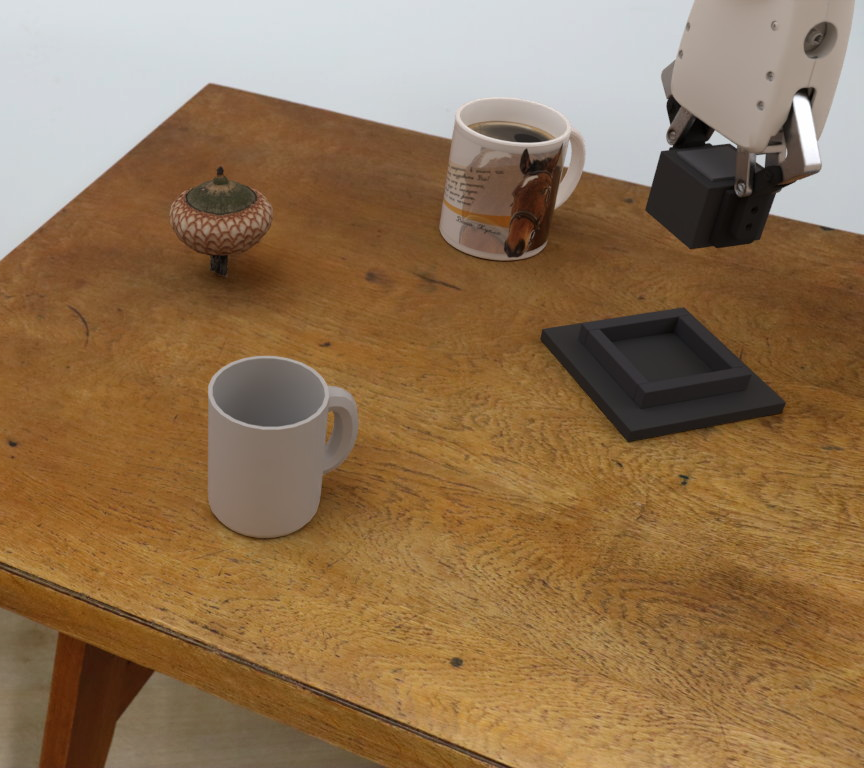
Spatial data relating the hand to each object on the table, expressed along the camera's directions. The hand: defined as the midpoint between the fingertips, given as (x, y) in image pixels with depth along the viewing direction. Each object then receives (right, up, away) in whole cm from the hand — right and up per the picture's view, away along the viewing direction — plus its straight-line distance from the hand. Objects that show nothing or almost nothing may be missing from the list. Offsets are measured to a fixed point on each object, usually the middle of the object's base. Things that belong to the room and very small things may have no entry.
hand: (703, 218), depth 75 cm
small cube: (0, 0, 0) cm, 1 cm away
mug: (-8, +2, +26) cm, 27 cm away
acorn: (-34, -2, +18) cm, 38 cm away
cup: (-28, -19, -3) cm, 34 cm away
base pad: (0, -11, +9) cm, 14 cm away
